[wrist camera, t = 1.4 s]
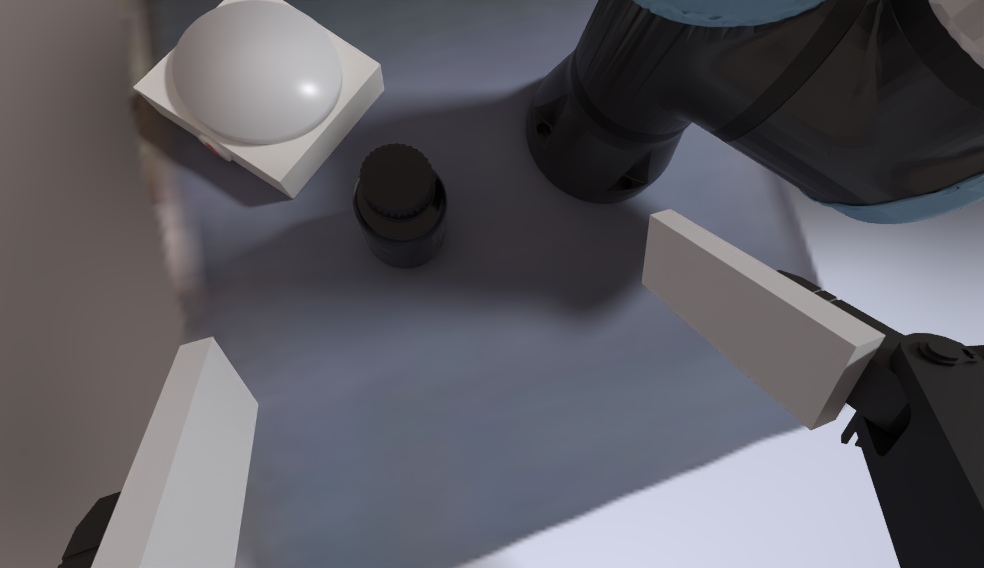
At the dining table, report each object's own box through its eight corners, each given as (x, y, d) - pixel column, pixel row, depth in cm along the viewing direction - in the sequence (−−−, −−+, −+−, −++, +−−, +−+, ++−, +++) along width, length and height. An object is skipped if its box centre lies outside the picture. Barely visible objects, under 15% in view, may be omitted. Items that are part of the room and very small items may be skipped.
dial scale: (263, 10, 41) (243, -34, 37) (384, 90, 41) (379, 56, 37) (155, 117, 38) (119, 84, 33) (289, 204, 38) (270, 182, 33)
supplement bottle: (420, 187, 40) (417, 112, 28) (456, 247, 39) (469, 197, 28) (354, 219, 38) (322, 155, 27) (390, 283, 38) (375, 245, 26)
